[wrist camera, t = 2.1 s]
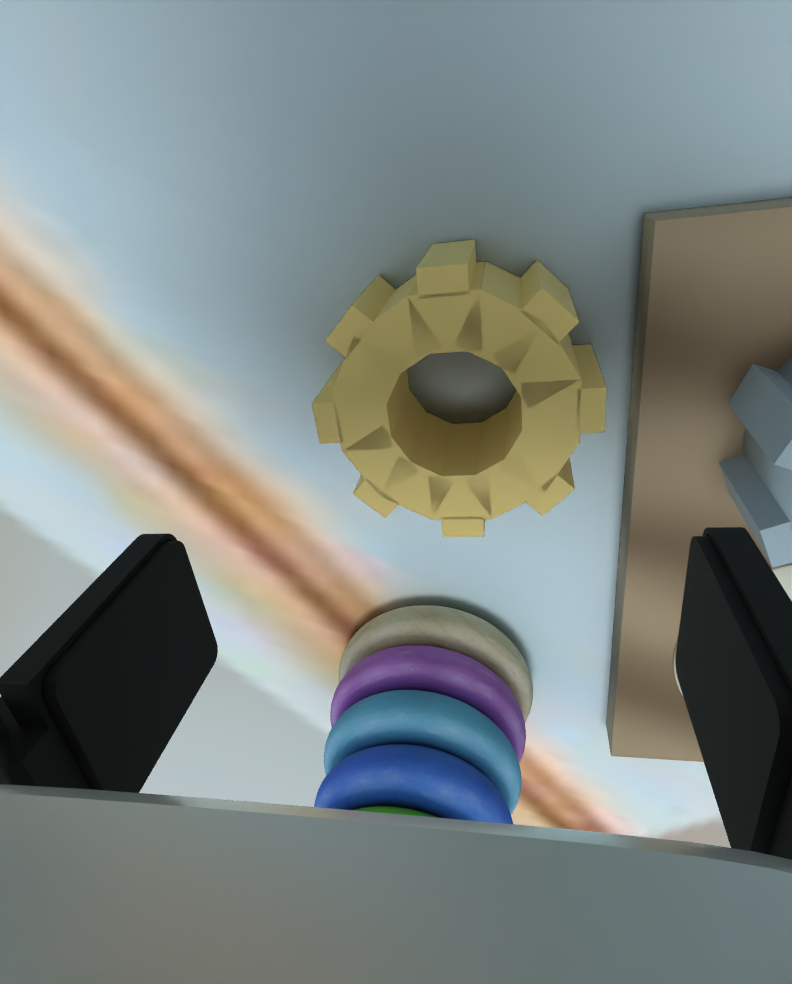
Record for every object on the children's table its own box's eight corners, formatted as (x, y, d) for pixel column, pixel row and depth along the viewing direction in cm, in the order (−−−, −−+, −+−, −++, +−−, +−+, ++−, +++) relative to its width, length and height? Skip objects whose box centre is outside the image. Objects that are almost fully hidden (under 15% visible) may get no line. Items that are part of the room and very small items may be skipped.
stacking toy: (569, 645, 24) (677, 1658, 8) (478, 752, 28) (432, 1555, 12) (386, 565, 23) (120, 1485, 8) (321, 687, 28) (63, 1439, 12)
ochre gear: (324, 255, 18) (286, 281, 15) (595, 226, 16) (613, 249, 13) (363, 481, 22) (338, 537, 19) (586, 475, 20) (598, 535, 17)
